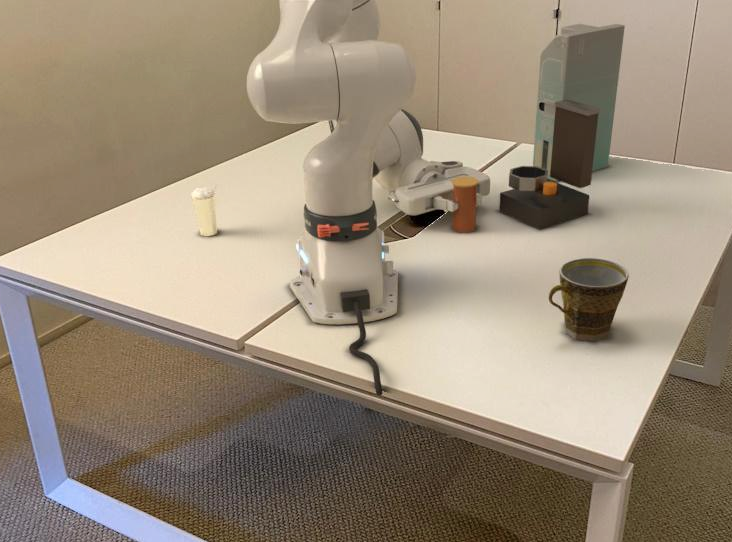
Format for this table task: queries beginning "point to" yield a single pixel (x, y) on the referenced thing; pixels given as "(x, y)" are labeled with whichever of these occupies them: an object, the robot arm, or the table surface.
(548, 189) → the power button
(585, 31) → the device
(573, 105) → the coffee maker
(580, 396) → the table surface
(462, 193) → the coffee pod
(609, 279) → the ceramic cup
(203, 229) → the milkshake
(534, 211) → the base
